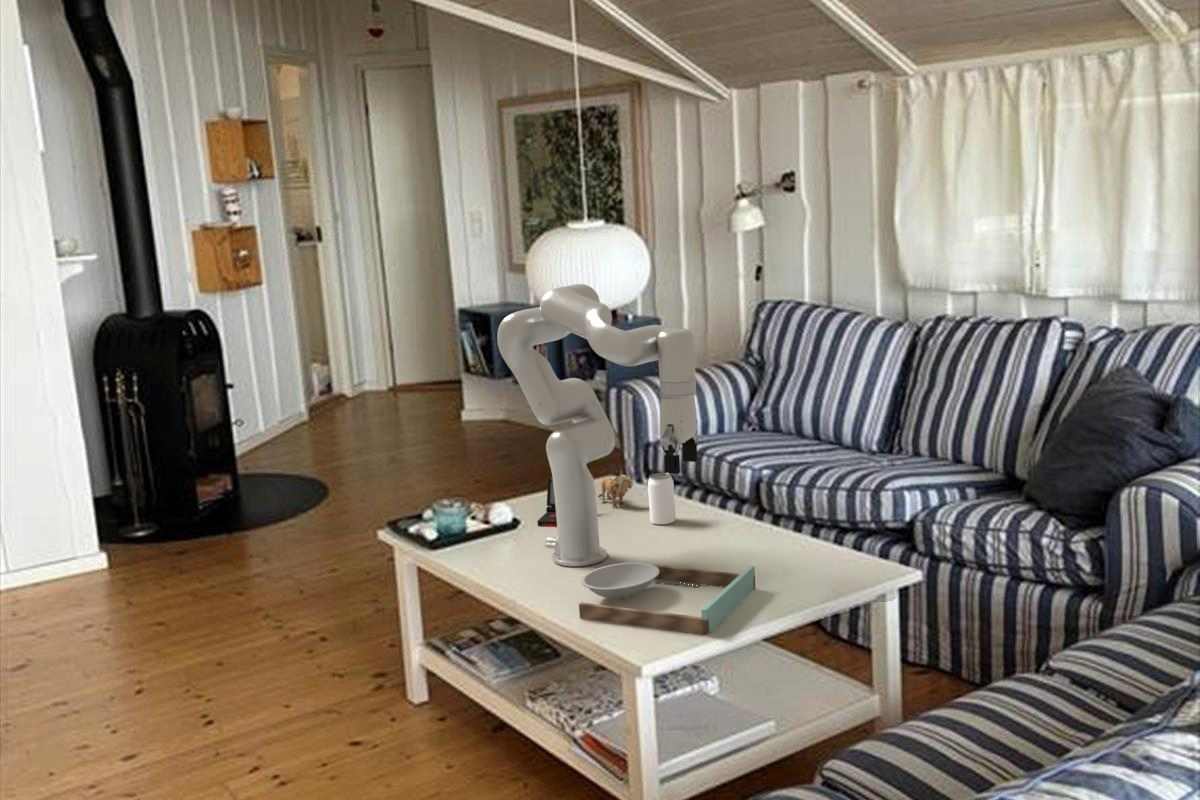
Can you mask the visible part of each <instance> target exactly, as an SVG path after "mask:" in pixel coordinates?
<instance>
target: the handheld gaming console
mask: <svg viewBox="0 0 1200 800" xmlns="http://www.w3.org/2000/svg"><path fill="white" fill-rule="evenodd" d="M545 510H546V512H545V513H544V514H543V515H542V516H541V517H539V519H538V520H537V527H557V518H556V506H555V496H554V485H553V477H552V476H551V477H549V478H548V479H547V492H546V509H545Z"/></svg>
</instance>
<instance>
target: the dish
mask: <svg viewBox="0 0 1200 800" xmlns="http://www.w3.org/2000/svg"><path fill="white" fill-rule="evenodd" d="M654 565H655V564H652V565H651V563H645V562H620V563H614V564H609V565H605V566H601V567H598V568H596V569H595V568H594V569H593V570H591V571H588V572H587V573H585V574H584V575H583V576H582V577H581V579H580V584H581V585H582V586H583V587H584V588H587V589H588V590H589V591H591V592H592V593H594V594H595V595H597V596H600V597H602V598H605V599H619V600H624V599H626V598H629V597H632V596H635V595H637V594H640V593H641V592H643V591H644V590H645V589H646V588H648V587H649V586H650V584H652V583H653V581H654V580H655V578H656V577H657V576H658V575H659V569H658V568H657V567H656V566H654Z"/></svg>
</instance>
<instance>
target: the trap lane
mask: <svg viewBox="0 0 1200 800" xmlns="http://www.w3.org/2000/svg"><path fill="white" fill-rule="evenodd" d="M650 564H651V563H650ZM651 565H654V566H656V567H657V568H658V569H659V575H658V576H657V577H656V578H655V579H658V580H655V579H654V580H655V582H656V583H655V584H660V583H662V585H669V584H673V585H672V586H678V585H682V586H681V587H687V586H691V587H690V588H696V587H698V586H699V585H700V584H705V585H704V586H710V585H712V587H719V586H722V587H721V588H724V589H722V590H721V591H720V592H719V593H718V594H717V595H716V596H714V598H712V599H711V600H709V602H708V603H707V604H706V605H704V606H703V607H702V608H701V610H700V612H701V613H700V614H701V616H694V615H685V614H677V613H670V612H669V613H668V612H661V611H654V610H653V611H652V610H645V609H636V608H628V607H622V606H612V605H606V604H605V605H604V604H597V603H596V604H595V603H589V602H580V603H578V611H579V619H583V620H592V621H600V622H607V623H614V624H620V625H621V624H623V625H630V626H638V627H644V626H645V628H652V627H653V628H652V629H660V628H661V630H668V631H669V630H670V631H677V632H682V631H683V632H684V633H685V632H686V633H691V632H692V634H698V633H700V634H701V635H706V634H708V633H709V634H710V633H711V632H712V631H713V630H714V629H715V628H717V626H718V625H719V624H720V623H722V622H723V620H724V619H726V618H727V617H726V616H729V615H730V614H731V613H732V612H733V611H734V610H735V609H736V608H737V607H738V606H740V604H742V602H743V601H744V600H745V599H746V598H748V597H749V595H751V594H752V593H753V592H754V591H755V590H756V574H755V573H756V571H755V565H749V566H748V567H747V568H745V570H743V571H742V572H741V573H739V572H727V571H717V570H709V569H699V568H690V567H679V566H669V565H659V564H651ZM680 582H681V583H680ZM663 583H664V584H663ZM684 583H685V584H684ZM688 584H689V585H688ZM692 584H693V587H692ZM683 585H684V586H683ZM696 585H697V586H696ZM713 585H714V586H713ZM700 586H701V585H700ZM700 586H699V587H700ZM699 587H698V588H699ZM709 634H708V635H709Z"/></svg>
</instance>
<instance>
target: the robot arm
mask: <svg viewBox="0 0 1200 800" xmlns="http://www.w3.org/2000/svg"><path fill="white" fill-rule="evenodd" d="M612 318H613V315H612V312H611V309H610V307H608V306H607V305H606V304H604V303H602V302H601V301H600V297H599V295H598V293H597V291H596V290H595V289H594V288H593V287H591V286H589V285H587V284H585V283H576V284H572V285H565V286H559V287H556V288H552V289H550V290H549V291H547V292H546V293H545V294H544V295H543V296H542V298H541V300H540V302H539V306H538V307H532V308H526V309H521V310H517V311H515V312H512V313H510V314H508V315H506V317H504V318H503V319H502V320H501V322H500V323H499V326H498V329H497V338H496V339H497V347H498V350H499V352H500V355H501V357H502V359H503V360H504V362H505V364H506V365H507V366H508V368H509V369H510V371H511V372H512V373H513V375H514V377H515V379H516V381H517V382H518V385H519V387H520V388H521V391H522V393H523V395H524V397H525V398H526V401H527V403H528V404H529V407H530V408H531V411H532V413H533V414H534V416H535V418H536V419H537V421H538V422H539V423H540V424H542V425H545V426H554V425H558V424H561V423H566V422H568V421H572V422H573V423H572V424H568V425H565V426H561V427H560V428H557V429H556V430H554V431H553V432H552V433H551V434H550V435H549V437H548V438H547V441H546V444H545V450H546V455H547V459H548V462H549V467H550V470H551V471H550V472H551V475H552V476H551V477H553V485H554V496H555V506H556V518H557V526H556V528H557V529H556V530H557V538H555V537H547V538H546V539H545V546H544V547H545V548H546V549H553V550H554V553H553V554H552V560H553V562H554V563H556V564H557V565H560V566H565V567H587V566H590V565H595V564H598V563H600V562H603V561H604V560H606V558H607V557H608V552H607V549H606V548H604V547H603V546H600V531H599V519H598V507H597V496H596V495H597V494H596V484H595V480H594V477H593V475H592V474H591V472H590V470H589V468H588V466H587V464H589V463H591V462H593V461H596V460H599V459H602V458H605V457H606V456H608V455H609V454H611V452H613V450H614V449H615V445H616V436H615V432H614V429H613V426H612V424H611V422H610V420H609V418H608V416H607V414H606V413H605V411H604V409H603V407H602V404H601V403H600V401H599V399H598V397H597V395H596V393H595V391H594V390H593V388H592V387H591V386H590V384H588V383H587V382H586V381H585V380H582V378H581V379H580V378H578V377H571V378H566V379H559V378H558V377H557V375H556V373H555V371H554V370H553V367H552V365H551V363H550V361H549V360H548V359H546V357H545V356H544V355H543V354H542V353H540V352H539V351H537V350H536V349H535V348H534V346H538V345H542V344H546V343H550V342H555V341H559V340H561V339H563V338H565V337H567V336H569V335H570V334H574V335H576V336H579V337H581V338H583V339H585V340H587V342H588V344H589V346H590V347H591V349H592V350H593V351H594V353H595V354H597V355H598V356H599V357H601V358H603V359H605V360H607V361H609V362H612V363H614V364H617V365H618V366H623V367H635V366H636V367H637V366H639V365H643V364H647V363H651V362H655V361H658V375H659V395H660V397H661V398H660V406H659V442H660V443H661V445H662V446H661V447H662V448H661V449H662V452H663V457H664V473H668V474H671V475H672V474H673V475H679V474H680V473H681V461H680V460H681V457H680V454H678V453H679V449H680V445H681V453H682V461H683V462H690V463H696V462H697V461H698V447H697V446H698V437H697V434H698V428H697V427H698V418H697V407H696V399H695V396H696V395H697V380H696V358H695V357H696V356H695V338H694V334H693V331H692V330H690V329H688V328H677V327H676V328H671V327H669V326H668V327H667V326H665V325H661V324H660V325H659V324H651V325H645V326H641V327H637V328H632V329H629V330H624V329H621V328H618V327H615V326H613V325H612V320H613V319H612ZM673 446H674V447H673Z"/></svg>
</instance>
